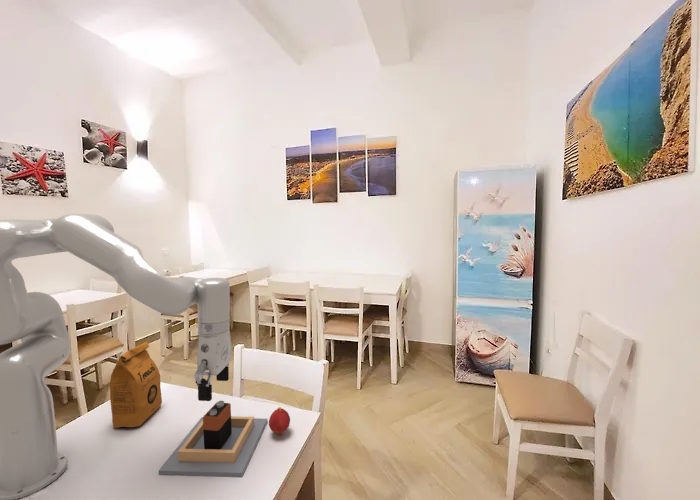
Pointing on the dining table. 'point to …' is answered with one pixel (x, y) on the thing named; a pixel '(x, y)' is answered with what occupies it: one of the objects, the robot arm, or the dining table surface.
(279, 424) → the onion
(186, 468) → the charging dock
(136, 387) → the coffee package
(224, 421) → the battery
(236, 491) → the dining table surface
